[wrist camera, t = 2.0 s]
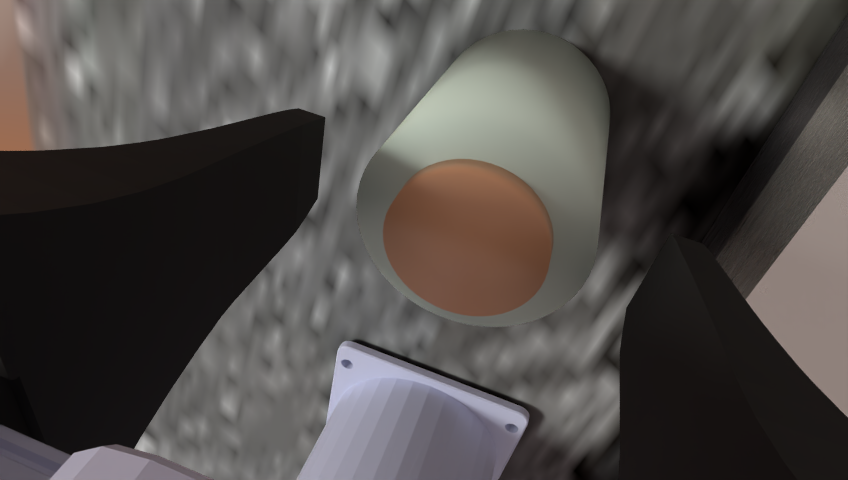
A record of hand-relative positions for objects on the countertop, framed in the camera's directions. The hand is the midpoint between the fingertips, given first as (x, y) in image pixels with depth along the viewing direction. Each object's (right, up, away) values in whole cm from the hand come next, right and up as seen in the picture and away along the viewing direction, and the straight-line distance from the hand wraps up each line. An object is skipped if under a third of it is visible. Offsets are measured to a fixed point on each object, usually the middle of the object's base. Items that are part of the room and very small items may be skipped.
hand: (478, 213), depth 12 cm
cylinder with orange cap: (+2, +3, +4) cm, 5 cm away
